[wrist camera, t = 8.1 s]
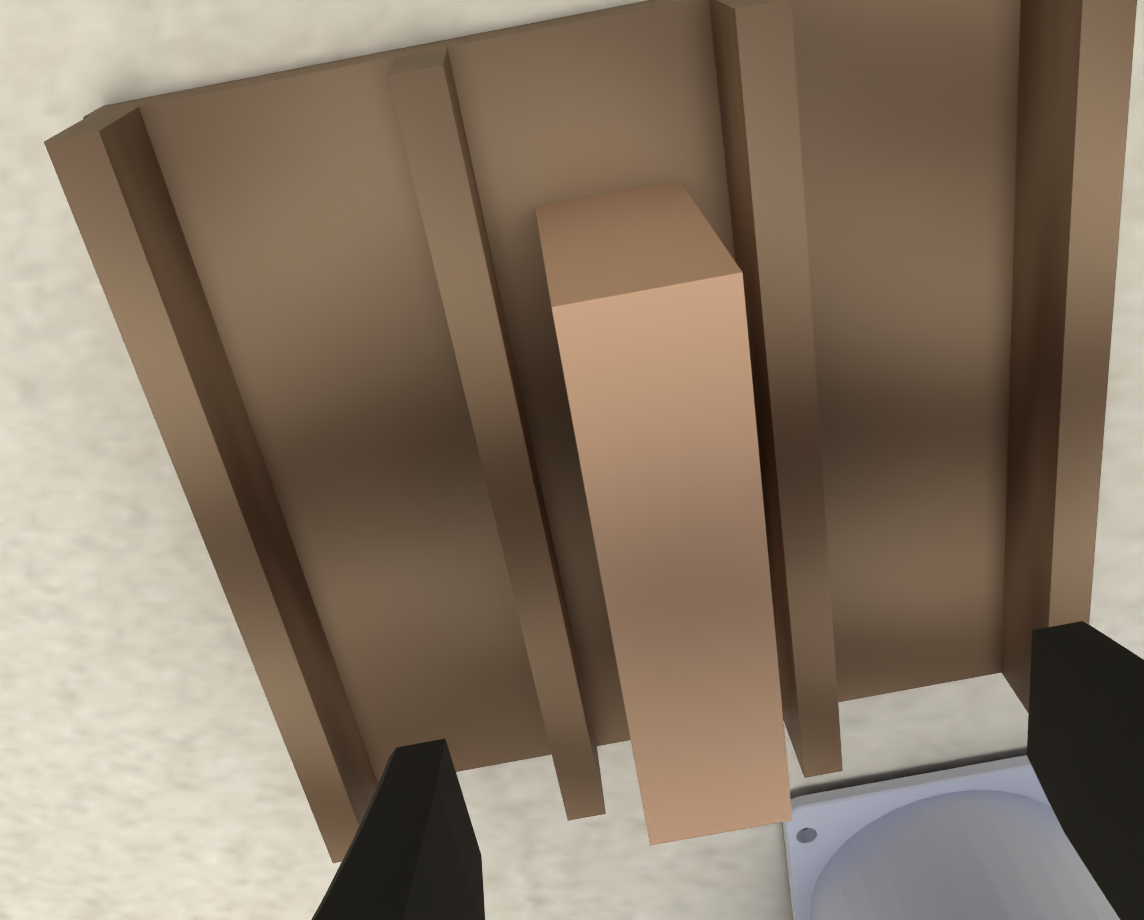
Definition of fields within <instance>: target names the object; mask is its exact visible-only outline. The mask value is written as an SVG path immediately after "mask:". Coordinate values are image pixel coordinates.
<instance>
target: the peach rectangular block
mask: <svg viewBox="0 0 1144 920" xmlns="http://www.w3.org/2000/svg"><path fill="white" fill-rule="evenodd" d="M535 210H536V216H537V222H538V228H539V234H540V240H541V247H542V253H543V259H544V265H545V271H546V277H547V283H548V289H549V295H550V301H551V307H552V312H553V318H554V323H555V329H556V334H557V340H558V345H559V351H560V356H561V362H562V367H563V373H564V378H565V383H566V389H567V394H568V400H569V405H570V411H571V416H572V422H573V427H574V433H575V438H576V443H577V449H578V454H579V460H580V465H581V471H582V476H583V482H584V487H585V493H586V498H587V503H588V509H589V514H590V520H591V525H592V531H593V536H594V542H595V547H596V553H597V558H598V564H599V569H600V574H601V580H602V585H603V591H604V596H605V602H606V607H607V613H608V618H609V624H610V629H611V634H612V640H613V645H614V651H615V656H616V662H617V667H618V673H619V678H620V684H621V689H622V695H623V700H624V705H625V711H626V716H627V722H628V727H629V733H630V738H631V744H632V749H633V755H634V760H635V765H636V771H637V776H638V782H639V787H640V793H641V798H642V804H643V809H644V815H645V820H646V826H647V831H648V836H649V842H650V845H655V844H660V843H666V842H672V841H677V840H683V839H689V838H695V837H700V836H706V835H712V834H717V833H723V832H729V831H734V830H740V829H746V828H752V827H757V826H763V825H769V824H774V823H780V822H786V821H791V820H792V812H791V801H790V790H789V779H788V768H787V757H786V746H785V735H784V724H783V713H782V702H781V691H780V680H779V669H778V658H777V647H776V636H775V625H774V614H773V603H772V592H771V581H770V570H769V559H768V548H767V537H766V526H765V515H764V504H763V493H762V482H761V471H760V460H759V449H758V438H757V427H756V416H755V405H754V394H753V383H752V372H751V361H750V350H749V339H748V328H747V317H746V306H745V295H744V284H743V273H742V271H741V269H740V268H739V267H738V265H737V264H736V262H735V261H734V259H733V258H732V256H731V255H730V253H729V252H728V250H727V249H726V248H725V246H724V245H723V243H722V242H721V240H720V239H719V237H718V236H717V234H716V233H715V231H714V230H713V229H712V227H711V226H710V224H709V223H708V221H707V220H706V218H705V217H704V215H703V214H702V212H701V211H700V210H699V208H698V207H697V205H696V204H695V202H694V201H693V199H692V198H691V196H690V195H689V193H688V192H687V191H686V189H685V188H684V186H683V185H682V183H681V182H680V180H679V181H673V182H668V183H662V184H657V185H651V186H646V187H640V188H635V189H630V190H624V191H619V192H613V193H608V194H602V195H597V196H591V197H586V198H580V199H575V200H570V201H564V202H559V203H553V204H548V205H542V206H537V207H535Z"/></svg>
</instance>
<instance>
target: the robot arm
mask: <svg viewBox="0 0 1144 920" xmlns="http://www.w3.org/2000/svg"><path fill="white" fill-rule="evenodd" d="M790 801H791V812H792V820H791V821H786V822H783V831H784V840H785V850H786V859H787V868H788V878H789V887H790V896H791V906H792V915H793V920H1144V660H1143V659H1141V658H1140V657H1138V656H1137V655H1135V654H1134V653H1132V652H1131V651H1129V650H1128V649H1126V648H1125V647H1123V646H1121V645H1120V644H1118V643H1117V642H1115V641H1114V640H1112V639H1111V638H1109V637H1107V636H1106V635H1104V634H1103V633H1101V632H1100V631H1098V630H1096V629H1095V628H1093V627H1092V626H1090V625H1088V624H1087V623H1085V622H1083V621H1079V622H1074V623H1069V624H1063V625H1058V626H1052V627H1047V628H1041V629H1036V630H1032V647H1031V671H1030V695H1029V719H1028V743H1027V755H1024V756H1019V757H1013V758H1008V759H1002V760H996V761H991V762H985V763H980V764H974V765H969V766H963V767H958V768H952V769H947V770H941V771H936V772H930V773H925V774H919V775H914V776H908V777H902V778H897V779H891V780H886V781H880V782H875V783H869V784H864V785H858V786H853V787H847V788H842V789H836V790H831V791H825V792H820V793H814V794H809V795H803V796H799V797H795V798H793V799H791V800H790ZM804 828H809V829H806V830H804V831H800V830H802V829H804ZM312 920H485V911H484V893H483V877H482V861H481V853H480V850H479V846H478V843H477V840H476V837H475V833H474V830H473V827H472V824H471V820H470V817H469V814H468V811H467V807H466V804H465V801H464V798H463V794H462V791H461V788H460V784H459V781H458V778H457V775H456V771H455V768H454V765H453V762H452V758H451V755H450V752H449V749H448V745H447V742H446V739H439V740H434V741H429V742H423V743H418V744H412V745H407V746H401V747H396V749H395V750H394V751H393V753H392V754H391V755H390V757H389V759H388V762H387V764H386V766H385V769H384V771H383V774H382V776H381V779H380V781H379V783H378V786H377V788H376V790H375V793H374V795H373V797H372V799H371V802H370V804H369V806H368V808H367V811H366V813H365V815H364V817H363V819H362V821H361V824H360V826H359V828H358V830H357V832H356V834H355V836H354V839H353V841H352V843H351V845H350V847H349V849H348V851H347V853H346V855H345V857H344V859H343V861H342V863H341V865H340V867H339V869H338V871H337V873H336V875H335V877H334V879H333V880H332V882H331V884H330V886H329V888H328V890H327V892H326V894H325V896H324V898H323V900H322V902H321V904H320V905H319V907H318V909H317V911H316V913H315V914H314V916H313V918H312Z"/></svg>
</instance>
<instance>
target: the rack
mask: <svg viewBox="0 0 1144 920" xmlns="http://www.w3.org/2000/svg"><path fill="white" fill-rule="evenodd" d="M1136 6H1137V0H651V1H645V2H640V3H635V4H630V5H625V6H619V7H614V8H609V9H604V10H599V11H594V12H588V13H583V14H578V15H573V16H568V17H562V18H557V19H552V20H547V21H542V22H537V23H531V24H526V25H521V26H516V27H511V28H505V29H500V30H495V31H490V32H485V33H480V34H474V35H469V36H464V37H459V38H454V39H448V40H443V41H438V42H433V43H428V44H423V45H417V46H412V47H407V48H402V49H397V50H391V51H386V52H381V53H376V54H371V55H366V56H360V57H355V58H350V59H345V60H340V61H334V62H329V63H324V64H319V65H314V66H309V67H303V68H298V69H293V70H288V71H283V72H277V73H272V74H267V75H262V76H257V77H252V78H246V79H241V80H236V81H231V82H226V83H220V84H215V85H210V86H205V87H200V88H195V89H189V90H184V91H179V92H174V93H169V94H163V95H158V96H153V97H148V98H143V99H138V100H132V101H127V102H122V103H117V104H112V105H106V106H102V107H101V108H99V109H97V110H95V111H94V112H92V113H90V114H88V115H86V116H85V117H83V118H84V119H83V120H82V121H80V122H78V123H76V124H75V125H73V126H71V127H69V128H67V129H66V130H64V131H62V132H60V133H59V134H57V135H55V136H53V137H52V138H50V139H48V140H46V141H45V142H44V143H45V146H46V148H47V151H48V153H49V156H50V158H51V161H52V163H53V166H54V168H55V171H56V173H57V176H58V178H59V181H60V183H61V186H62V188H63V191H64V193H65V196H66V198H67V201H68V203H69V206H70V208H71V211H72V213H73V216H74V218H75V221H76V223H77V226H78V228H79V231H80V233H81V236H82V238H83V241H84V243H85V246H86V248H87V251H88V253H89V256H90V258H91V261H92V263H93V266H94V268H95V271H96V273H97V276H98V278H99V280H100V283H101V285H102V288H103V290H104V293H105V295H106V298H107V300H108V303H109V305H110V308H111V310H112V313H113V315H114V318H115V320H116V323H117V325H118V328H119V330H120V333H121V335H122V338H123V340H124V343H125V345H126V348H127V350H128V353H129V355H130V358H131V360H132V363H133V365H134V368H135V370H136V373H137V375H138V378H139V380H140V383H141V385H142V388H143V390H144V393H145V395H146V398H147V400H148V403H149V405H150V408H151V410H152V413H153V415H154V418H155V420H156V423H157V425H158V428H159V430H160V433H161V435H162V438H163V440H164V443H165V445H166V448H167V450H168V453H169V455H170V458H171V460H172V463H173V465H174V468H175V470H176V473H177V475H178V478H179V480H180V483H181V485H182V488H183V490H184V493H185V495H186V498H187V500H188V503H189V505H190V508H191V510H192V513H193V515H194V518H195V520H196V523H197V525H198V528H199V530H200V533H201V535H202V538H203V540H204V543H205V545H206V548H207V550H208V553H209V555H210V558H211V560H212V563H213V565H214V567H215V570H216V572H217V575H218V577H219V580H220V582H221V585H222V587H223V590H224V592H225V595H226V597H227V600H228V602H229V605H230V607H231V610H232V612H233V615H234V617H235V620H236V622H237V625H238V627H239V630H240V632H241V635H242V637H243V640H244V642H245V645H246V647H247V650H248V652H249V655H250V657H251V660H252V662H253V665H254V667H255V670H256V672H257V675H258V677H259V680H260V682H261V685H262V687H263V690H264V692H265V695H266V697H267V700H268V702H269V705H270V707H271V710H272V712H273V715H274V717H275V720H276V722H277V725H278V727H279V730H280V732H281V735H282V737H283V740H284V742H285V745H286V747H287V750H288V752H289V755H290V757H291V760H292V762H293V765H294V767H295V770H296V772H297V775H298V777H299V780H300V782H301V785H302V787H303V790H304V792H305V795H306V797H307V800H308V802H309V805H310V807H311V810H312V812H313V815H314V817H315V820H316V822H317V825H318V827H319V830H320V832H321V835H322V837H323V840H324V842H325V845H326V847H327V850H328V852H329V855H330V857H331V859H332V862H333V863H337V862H342V861H343V859H344V857H345V855H346V853H347V851H348V849H349V847H350V845H351V843H352V841H353V839H354V836H355V834H356V832H357V830H358V828H359V826H360V824H361V821H362V819H363V817H364V815H365V813H366V811H367V808H368V806H369V804H370V802H371V799H372V797H373V795H374V793H375V790H376V788H377V786H378V783H379V781H380V779H381V776H382V774H383V771H384V769H385V766H386V764H387V762H388V759H389V757H390V755H391V754H392V753H393V751H394V750H395V749H396V747H401V746H407V745H412V744H418V743H423V742H429V741H434V740H439V739H446V742H447V745H448V749H449V752H450V755H451V758H452V762H453V765H454V768H455V771H456V772H457V771H463V770H468V769H474V768H479V767H485V766H490V765H496V764H501V763H507V762H512V761H518V760H523V759H529V758H534V757H540V756H545V755H551V754H552V757H553V761H554V765H555V769H556V773H557V777H558V782H559V786H560V790H561V794H562V798H563V802H564V806H565V811H566V815H567V819H568V820H574V819H579V818H585V817H590V816H596V815H602V814H606V812H605V805H604V797H603V790H602V782H601V775H600V767H599V760H598V752H597V746H600V745H606V744H611V743H617V742H622V741H628V740H631V738H630V733H629V727H628V722H627V716H626V711H625V705H624V700H623V695H622V689H621V684H620V678H619V673H618V667H617V662H616V656H615V651H614V645H613V640H612V634H611V629H610V624H609V618H608V613H607V607H606V602H605V596H604V591H603V585H602V580H601V574H600V569H599V564H598V558H597V553H596V547H595V542H594V536H593V531H592V525H591V520H590V514H589V509H588V503H587V498H586V493H585V487H584V482H583V476H582V471H581V465H580V460H579V454H578V449H577V443H576V438H575V433H574V427H573V422H572V416H571V411H570V405H569V400H568V394H567V389H566V383H565V378H564V373H563V367H562V362H561V356H560V351H559V345H558V340H557V334H556V329H555V323H554V318H553V312H552V307H551V301H550V295H549V289H548V283H547V277H546V271H545V265H544V259H543V253H542V247H541V240H540V234H539V228H538V222H537V216H536V210H535V207H537V206H542V205H548V204H553V203H559V202H564V201H570V200H575V199H580V198H586V197H591V196H597V195H602V194H608V193H613V192H619V191H624V190H630V189H635V188H640V187H646V186H651V185H657V184H662V183H668V182H673V181H679V180H680V182H681V183H682V185H683V186H684V188H685V189H686V191H687V192H688V193H689V195H690V196H691V198H692V199H693V201H694V202H695V204H696V205H697V207H698V208H699V210H700V211H701V212H702V214H703V215H704V217H705V218H706V220H707V221H708V223H709V224H710V226H711V227H712V229H713V230H714V231H715V233H716V234H717V236H718V237H719V239H720V240H721V242H722V243H723V245H724V246H725V248H726V249H727V250H728V252H729V253H730V255H731V256H732V258H733V259H734V261H735V262H736V264H737V265H738V267H739V268H740V269H741V271H742V273H743V284H744V295H745V306H746V317H747V328H748V339H749V350H750V361H751V372H752V383H753V394H754V405H755V416H756V427H757V438H758V449H759V460H760V471H761V482H762V493H763V504H764V515H765V526H766V537H767V548H768V559H769V570H770V581H771V592H772V603H773V614H774V625H775V636H776V647H777V658H778V669H779V680H780V691H781V702H782V713H783V720H784V723H785V725H786V728H787V731H788V734H789V736H790V739H791V742H792V745H793V747H794V750H795V753H796V756H797V758H798V761H799V764H800V767H801V769H802V772H803V775H804V778H806V777H811V776H817V775H822V774H828V773H833V772H839V771H843V770H842V755H841V740H840V725H839V710H838V702H842V701H847V700H853V699H858V698H864V697H869V696H875V695H880V694H886V693H891V692H897V691H902V690H908V689H913V688H919V687H924V686H930V685H935V684H940V683H946V682H951V681H957V680H962V679H968V678H973V677H979V676H984V675H990V674H995V673H1001V672H1002V674H1003V675H1004V677H1005V678H1006V680H1007V681H1008V683H1009V684H1010V686H1011V687H1012V689H1013V690H1014V692H1015V693H1016V695H1017V696H1018V698H1019V700H1020V701H1021V703H1022V704H1023V706H1024V707H1025V709H1026V710H1027V712H1028V713H1029V695H1030V671H1031V647H1032V630H1036V629H1041V628H1047V627H1052V626H1058V625H1063V624H1069V623H1074V622H1079V621H1083V622H1085V623H1087V624H1088V625H1089V618H1090V605H1091V592H1092V579H1093V566H1094V553H1095V540H1096V527H1097V514H1098V501H1099V488H1100V475H1101V462H1102V449H1103V436H1104V423H1105V410H1106V397H1107V384H1108V371H1109V358H1110V345H1111V332H1112V319H1113V306H1114V293H1115V280H1116V267H1117V254H1118V241H1119V228H1120V215H1121V202H1122V189H1123V176H1124V163H1125V150H1126V137H1127V124H1128V111H1129V98H1130V85H1131V72H1132V59H1133V46H1134V32H1135V19H1136Z"/></svg>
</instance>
